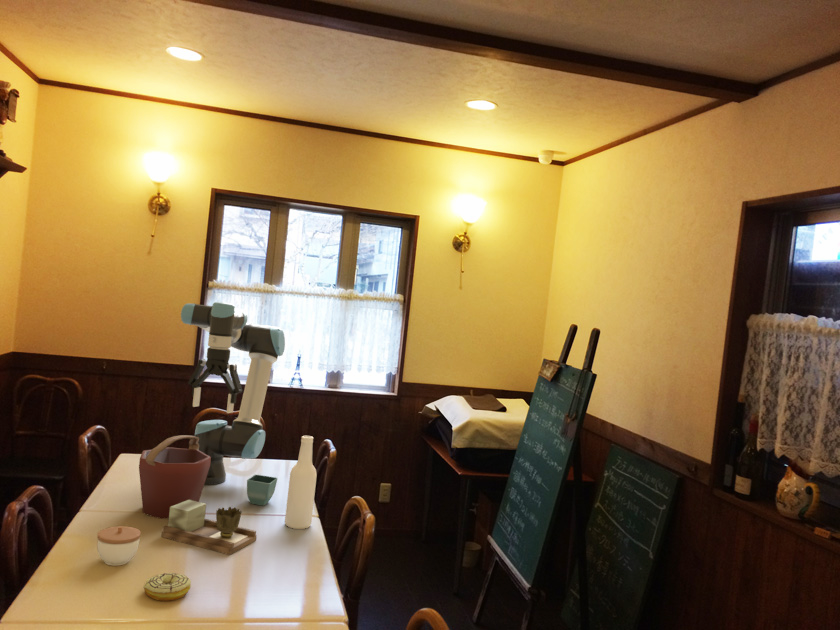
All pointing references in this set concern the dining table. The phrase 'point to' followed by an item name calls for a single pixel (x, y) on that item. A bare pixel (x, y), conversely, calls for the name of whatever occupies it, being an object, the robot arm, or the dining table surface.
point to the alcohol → (301, 488)
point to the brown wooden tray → (203, 529)
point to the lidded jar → (118, 544)
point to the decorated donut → (167, 586)
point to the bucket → (172, 475)
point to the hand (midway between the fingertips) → (212, 409)
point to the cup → (227, 521)
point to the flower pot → (260, 489)
